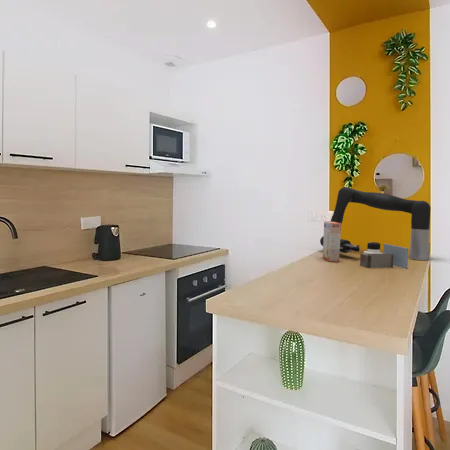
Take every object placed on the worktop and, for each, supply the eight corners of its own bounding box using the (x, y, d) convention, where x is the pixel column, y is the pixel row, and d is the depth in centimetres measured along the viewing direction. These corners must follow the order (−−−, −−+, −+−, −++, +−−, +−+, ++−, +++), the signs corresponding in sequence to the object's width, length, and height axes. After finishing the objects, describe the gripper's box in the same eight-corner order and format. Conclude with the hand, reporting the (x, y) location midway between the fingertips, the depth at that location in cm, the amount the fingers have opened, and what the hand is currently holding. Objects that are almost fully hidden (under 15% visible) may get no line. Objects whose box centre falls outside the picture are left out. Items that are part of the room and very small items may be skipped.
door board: (384, 262, 203) (385, 243, 202) (407, 268, 185) (408, 248, 184) (382, 262, 202) (383, 243, 202) (405, 268, 185) (406, 248, 184)
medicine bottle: (383, 267, 188) (384, 243, 187) (369, 267, 187) (370, 243, 186) (376, 264, 195) (377, 241, 194) (362, 264, 194) (363, 241, 193)
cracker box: (339, 262, 200) (341, 222, 199) (328, 262, 200) (330, 222, 199) (333, 258, 214) (334, 221, 213) (322, 257, 214) (323, 221, 213)
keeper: (383, 264, 195) (384, 251, 194) (392, 267, 187) (393, 253, 187) (359, 265, 192) (360, 251, 192) (368, 268, 185) (369, 253, 184)
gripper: (331, 239, 221) (347, 242, 204) (352, 239, 224) (369, 242, 207) (331, 252, 222) (346, 256, 205) (351, 251, 224) (368, 256, 208)
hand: (358, 249), depth 206 cm, fingers closed
